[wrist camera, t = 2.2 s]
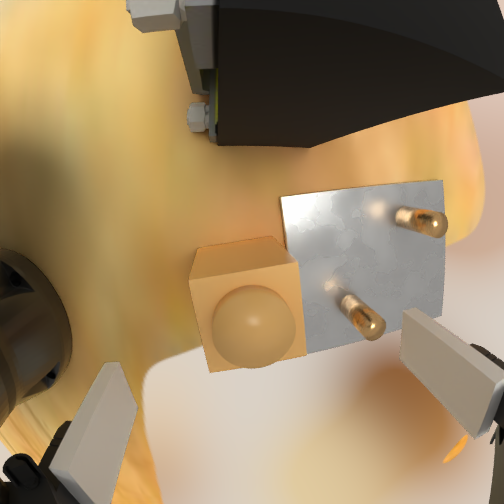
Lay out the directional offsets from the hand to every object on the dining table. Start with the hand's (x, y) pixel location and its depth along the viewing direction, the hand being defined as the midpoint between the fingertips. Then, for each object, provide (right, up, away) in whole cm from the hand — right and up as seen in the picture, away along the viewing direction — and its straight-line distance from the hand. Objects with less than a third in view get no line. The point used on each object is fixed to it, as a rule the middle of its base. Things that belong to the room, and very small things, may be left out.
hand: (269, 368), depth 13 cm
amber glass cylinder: (+8, +1, +14) cm, 16 cm away
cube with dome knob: (-2, +3, +13) cm, 13 cm away
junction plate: (+10, +4, +14) cm, 18 cm away
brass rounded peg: (+13, +8, +13) cm, 20 cm away
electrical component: (0, +22, +9) cm, 24 cm away
